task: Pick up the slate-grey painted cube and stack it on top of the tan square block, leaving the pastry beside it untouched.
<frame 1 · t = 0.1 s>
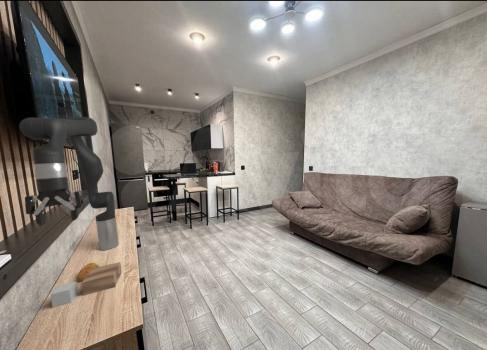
hand: (58, 222, 63), 29 cm above the tv stand, fingers open, 8 cm apart
tan square block: (104, 283, 73), on the tv stand
grey cube: (66, 300, 65), on the tv stand
pastry: (88, 275, 80), on the tv stand
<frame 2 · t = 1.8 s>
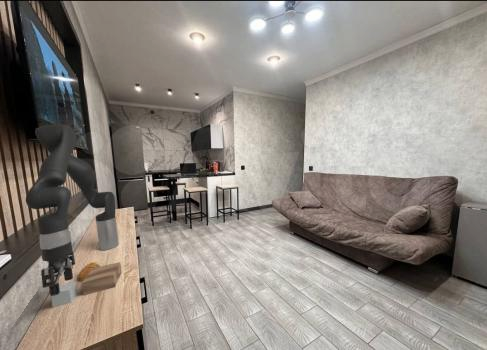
hand: (62, 286, 64), 5 cm above the tv stand, fingers open, 8 cm apart
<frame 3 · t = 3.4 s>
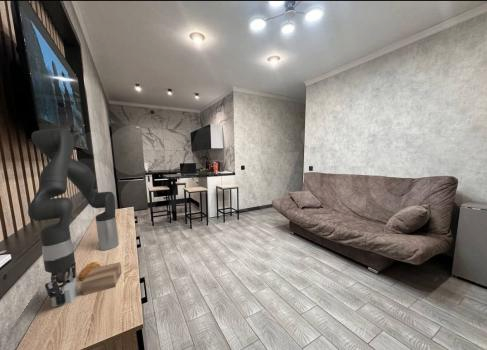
hand: (65, 298, 65), 1 cm above the tv stand, fingers closed on grey cube, 5 cm apart
grey cube: (66, 300, 65), on the tv stand, touching gripper
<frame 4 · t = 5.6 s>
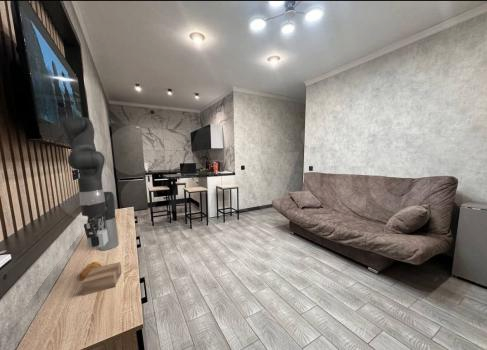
hand: (98, 243, 72), 17 cm above the tv stand, fingers closed on grey cube, 5 cm apart
grey cube: (98, 244, 72), point 16 cm above the tv stand, touching gripper
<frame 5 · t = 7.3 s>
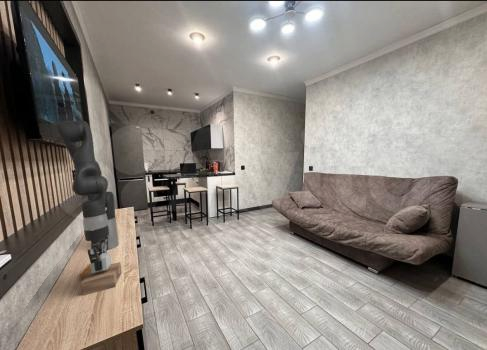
hand: (101, 266, 72), 7 cm above the tv stand, fingers closed on grey cube, 5 cm apart
grey cube: (101, 267, 72), point 7 cm above the tv stand, touching gripper
when the fingers open (7 cm above the tv stand, at t = 8.3 s): grey cube stays where it is, resting on tan square block.
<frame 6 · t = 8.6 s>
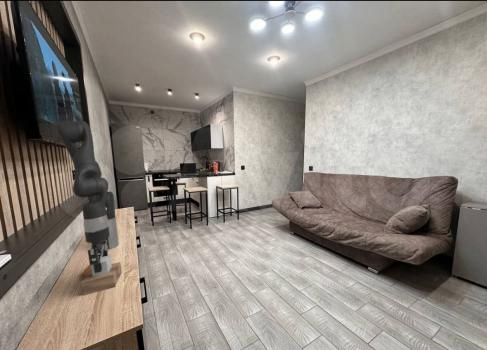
hand: (102, 266, 72), 7 cm above the tv stand, fingers open, 7 cm apart
grey cube: (102, 271, 73), point 5 cm above the tv stand, touching tan square block
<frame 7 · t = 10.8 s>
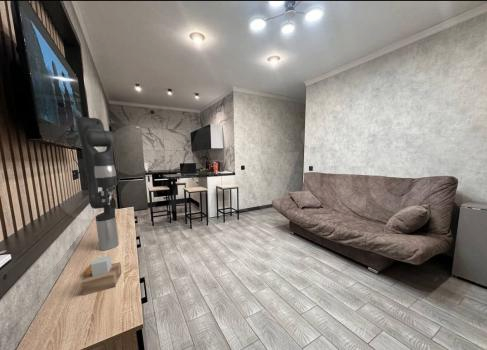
hand: (110, 210, 81), 27 cm above the tv stand, fingers open, 8 cm apart
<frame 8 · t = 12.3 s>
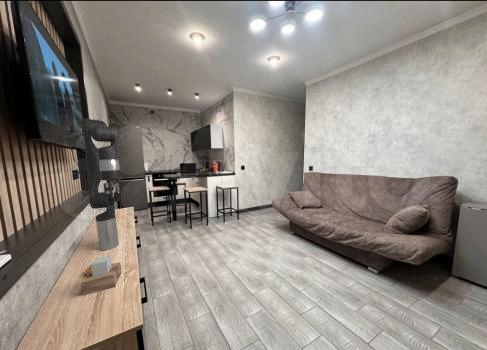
hand: (114, 203, 85), 30 cm above the tv stand, fingers open, 8 cm apart
at the end: grey cube inside the target area on the tan square block (0.1 cm from its centre), point 5.0 cm above the tan square block's base; grey cube touching tan square block; the gripper is holding nothing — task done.
